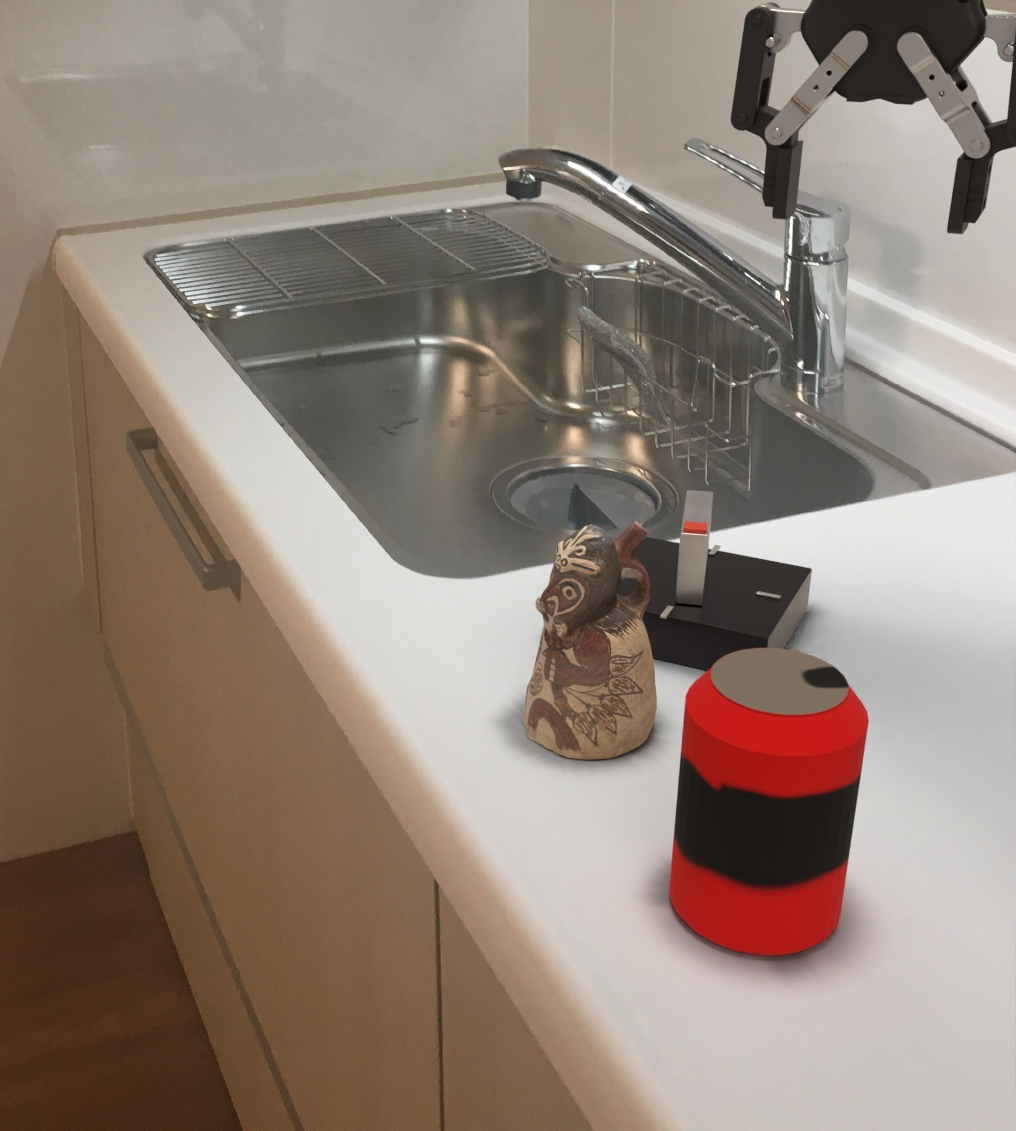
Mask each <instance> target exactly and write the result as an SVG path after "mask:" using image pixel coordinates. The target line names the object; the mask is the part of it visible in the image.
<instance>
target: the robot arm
mask: <svg viewBox="0 0 1016 1131" xmlns="http://www.w3.org/2000/svg"><path fill="white" fill-rule="evenodd" d="M799 32H800V34H801V37H802V39H803V41H804V42H805V45H806V46H807V48H808V50H809V51H810V53H811V54H812V56H813V58H814V59H815V61H816V63H817V65H818V67H817V68H816V69H815V70H813V72H812V73H811V74H810V76H809V77H808V78H807V79H805V81H804V82H803V83H802V84H801V85H800V87H799V88H798V89H797V90H796V91H795V93H793V95H792V96H791V97H790V100H789V101H788V102H787V103H785V105H784V106H783V107H782V108H781V110H779V109H777V108H775V107H772V106H771V105H769V100H770V95H771V90H772V89H771V88H772V82H773V76H774V71H775V70H774V69H775V64H776V57H777V53H780V52H782V51H783V50H785V49H787V47H788V46H789V45H790V43H791V40H792V38H793V36H794V34H795V33H799ZM985 38H988V39H991V40H992V41H993V42H994V43H995V45H996V48H997V56H998V57H999V59H1001V60H1002V61H1004V62H1006V63H1012V64H1011V74H1010V85H1009V86H1010V87H1009V97H1008V106H1007V114H1006V115H1007V117H1006V119H1005V118H1004V119H1001V120H997V121H995V122H993V121H992V119H991V118H990V116H989V115H988V113H987V111H986V110H985V108H984V107H983V104H982V103H981V102H980V99H979V95H978V92H977V91H976V88H975V87H974V86H973V84H972V82H971V80H970V79H969V77H968V76H967V74H966V72H965V71H964V69H963V67H962V66H961V65H962V64H963V62H964V63H965V61H966V60H967V58H968V57H969V56H970V55H971V54H972V53H973V52H974V51H975V50H976V49H977V48H978V46H979V45H981V43H982V42H983V41H984V39H985ZM835 93H836V94H837V95H839V96H840V97H842V98H845V99H846V100H845V101H846V102H847V103H848V102H849V103H866V102H870V101H875V100H883V101H885V102H888V103H890V104H891V103H892V104H893V105H894V104H895V105H908V106H913V105H914V104H915V103H918V102H921V101H924V100H926V99H928V100H929V102H930V104H931V105H932V107H933V109H934V111H935V112H936V114H937V115H938V117H939V118H940V119H941V121H943V122H944V123H945V124H946V125H947V126H948V128H949V130H950V131H951V133H952V134H953V136H954V138H955V139H956V140H957V144H959V146H960V147H961V149H962V151H963V152H962V153H961V154H960V156H958V158H957V160H956V166H955V173H954V177H953V185H952V186H953V187H952V192H951V198H950V206H949V212H948V219H947V227H946V233H947V234H951V235H952V234H954V235H963V234H964V233H965V232H966V230H968V227H969V224H976V223H977V222H978V220H979V219H980V217H981V215H982V214H983V213H984V211H985V209H986V208H987V203H988V202H987V201H988V195H989V187H990V182H991V175H992V170H993V165H994V164H993V163H994V158H995V156H996V154H998V153H999V152H1001V151H1004V150H1009V149H1013V148H1016V13H997V14H995V13H994V14H993V13H992V14H991V13H990V14H989V13H988V11H987V9H986V7H985V2H984V0H811V1H810V3H809V5H808V7H807V8H806V9H799V8H789V7H781V6H780V5H779V4H777V3H775V2H773V1H771V2H766V3H763V4H760V5H758V6H756V7H754V8H752V9H750V10H749V11H748V12H747V13H746V15H745V17H744V22H743V28H742V36H741V44H740V50H739V58H738V65H737V70H736V78H735V85H734V91H733V98H732V104H731V111H730V112H731V113H730V124H731V126H733V128H734V129H735V130H737V131H739V132H744V131H746V132H748V133H751V134H753V135H756V136H758V137H759V138H760V139H762V140H763V142H764V144H765V148H766V151H765V159H764V160H765V162H764V171H763V180H762V181H763V182H762V183H763V185H762V191H761V192H762V193H761V196H762V197H761V198H762V202H763V204H764V208H765V207H766V208H767V207H768V208H772V212H771V217H772V219H773V220H784V221H788V220H789V219H790V218H791V217H792V216H794V214H795V212H796V209H797V206H798V205H797V204H798V196H799V195H798V194H799V186H800V176H801V175H800V174H801V167H802V158H803V157H802V155H803V147H804V140H799V133H800V131H801V130H802V129H803V127H804V126H805V125H806V124H807V123H808V122H809V121H810V120H811V119H812V117H813V116H814V115H815V114H816V113H817V112H818V111H819V110H820V109H821V108H822V107H823V106H824V105H825V104H826V103H827V102H828V101H829V100H830V98H832V97H833V95H834V94H835Z"/></svg>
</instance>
